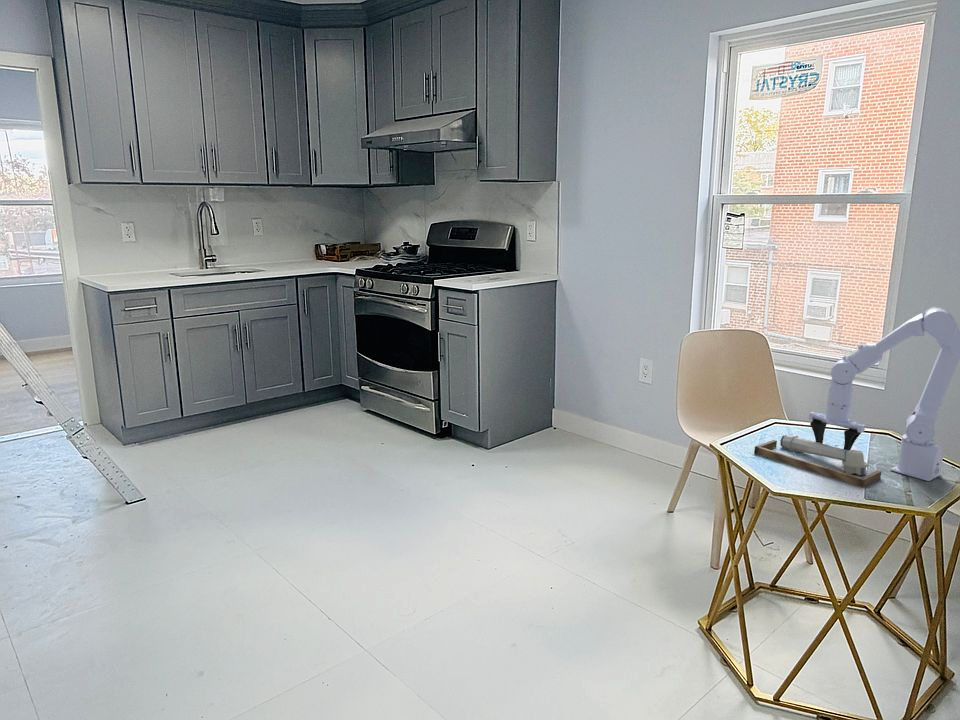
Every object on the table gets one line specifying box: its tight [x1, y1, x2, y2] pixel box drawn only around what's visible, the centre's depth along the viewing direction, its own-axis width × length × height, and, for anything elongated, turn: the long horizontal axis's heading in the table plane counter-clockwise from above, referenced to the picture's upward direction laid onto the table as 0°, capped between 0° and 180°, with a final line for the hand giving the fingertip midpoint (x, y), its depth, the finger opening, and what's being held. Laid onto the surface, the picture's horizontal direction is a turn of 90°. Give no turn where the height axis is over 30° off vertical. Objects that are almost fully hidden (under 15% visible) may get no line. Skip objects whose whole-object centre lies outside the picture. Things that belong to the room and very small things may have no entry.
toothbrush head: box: [779, 434, 869, 476], centre depth 191 cm, size 5×7×25 cm
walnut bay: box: [753, 439, 883, 488], centre depth 188 cm, size 30×10×2 cm, turn 37°
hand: (832, 449), depth 193 cm, fingers open, 7 cm apart
